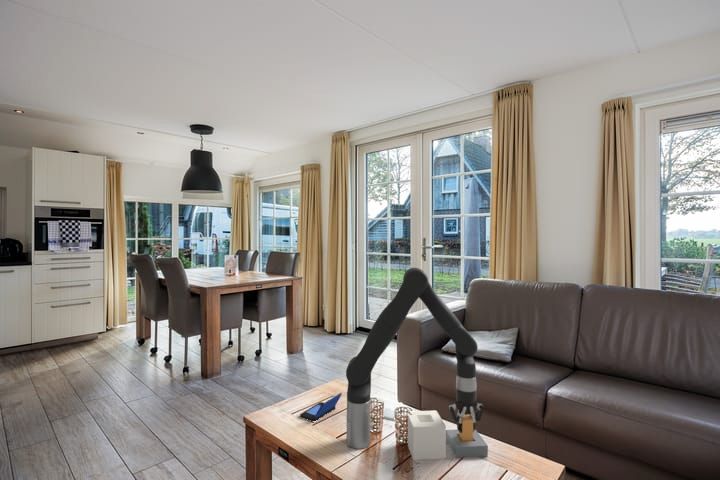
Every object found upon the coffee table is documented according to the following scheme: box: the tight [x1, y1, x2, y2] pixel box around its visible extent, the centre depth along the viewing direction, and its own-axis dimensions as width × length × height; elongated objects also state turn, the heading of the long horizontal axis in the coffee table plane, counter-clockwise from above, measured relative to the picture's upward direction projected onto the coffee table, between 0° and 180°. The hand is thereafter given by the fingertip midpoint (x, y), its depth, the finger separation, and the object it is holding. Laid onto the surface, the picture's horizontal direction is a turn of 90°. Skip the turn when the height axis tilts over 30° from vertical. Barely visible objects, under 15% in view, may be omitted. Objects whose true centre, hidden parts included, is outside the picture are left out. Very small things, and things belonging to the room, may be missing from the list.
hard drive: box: [383, 407, 395, 422], centre depth 167 cm, size 2×8×12 cm
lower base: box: [446, 428, 489, 459], centre depth 140 cm, size 12×12×4 cm
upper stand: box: [406, 409, 447, 461], centre depth 139 cm, size 12×12×12 cm
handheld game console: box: [299, 392, 343, 422], centre depth 166 cm, size 16×13×9 cm
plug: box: [459, 414, 473, 442], centre depth 140 cm, size 4×4×9 cm
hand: (466, 431), depth 140 cm, fingers closed on plug, 4 cm apart
